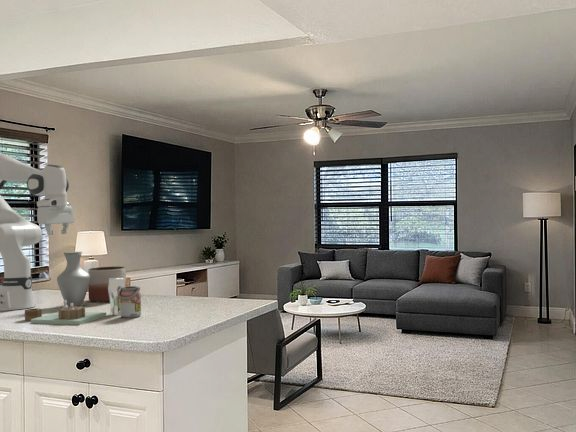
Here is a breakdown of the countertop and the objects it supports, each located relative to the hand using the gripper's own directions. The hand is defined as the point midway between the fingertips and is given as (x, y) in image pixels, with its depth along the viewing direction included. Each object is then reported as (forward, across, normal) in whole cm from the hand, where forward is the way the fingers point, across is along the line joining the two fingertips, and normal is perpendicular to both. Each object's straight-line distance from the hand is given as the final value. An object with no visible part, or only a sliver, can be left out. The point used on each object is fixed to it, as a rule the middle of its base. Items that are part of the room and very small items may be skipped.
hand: (57, 234), depth 243 cm
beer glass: (+34, -1, +27) cm, 44 cm away
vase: (+34, -19, -6) cm, 39 cm away
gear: (+34, +14, -2) cm, 37 cm away
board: (+34, +12, +14) cm, 39 cm away
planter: (+34, -37, 0) cm, 50 cm away
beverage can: (+34, +4, +36) cm, 50 cm away
